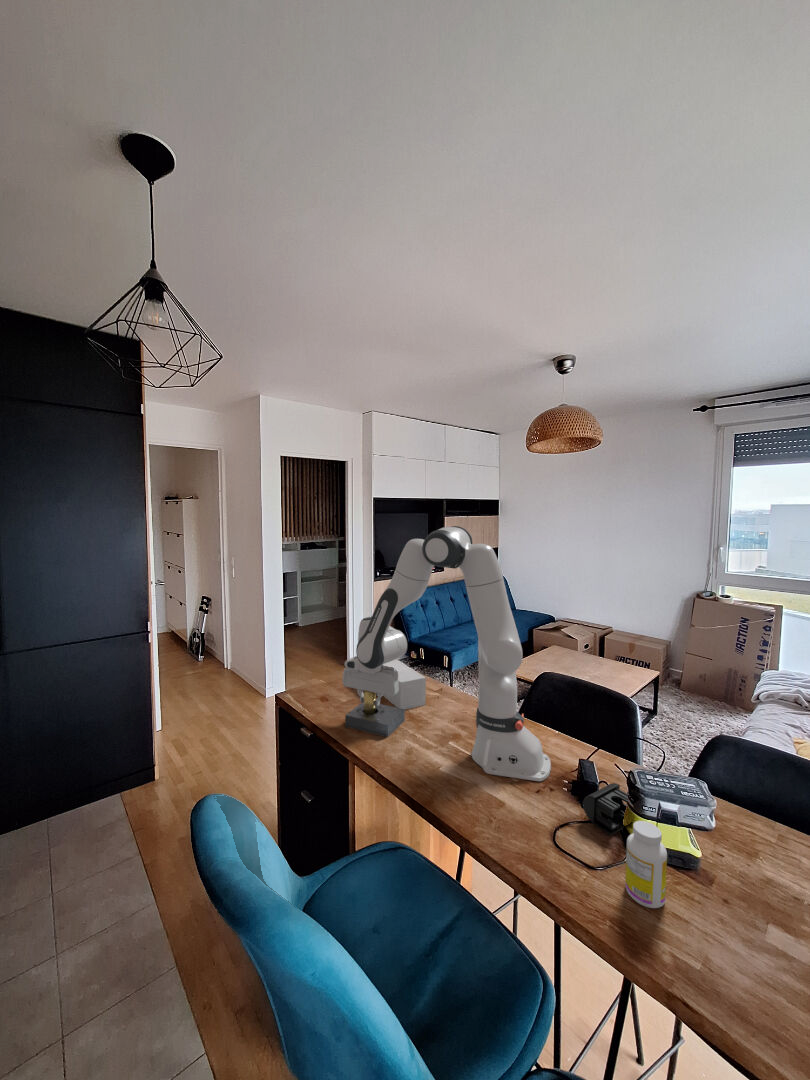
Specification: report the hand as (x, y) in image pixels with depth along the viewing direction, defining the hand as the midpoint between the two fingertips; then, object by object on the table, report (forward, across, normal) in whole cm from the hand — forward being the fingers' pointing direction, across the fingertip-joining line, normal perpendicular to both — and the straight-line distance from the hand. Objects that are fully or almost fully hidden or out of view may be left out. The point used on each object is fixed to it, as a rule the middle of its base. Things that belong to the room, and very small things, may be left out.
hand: (369, 703), depth 149 cm
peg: (+4, 0, 0) cm, 4 cm away
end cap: (+7, -74, +18) cm, 77 cm away
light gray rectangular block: (+7, +4, -27) cm, 29 cm away
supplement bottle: (+7, -80, +38) cm, 89 cm away
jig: (+7, -2, 0) cm, 7 cm away
